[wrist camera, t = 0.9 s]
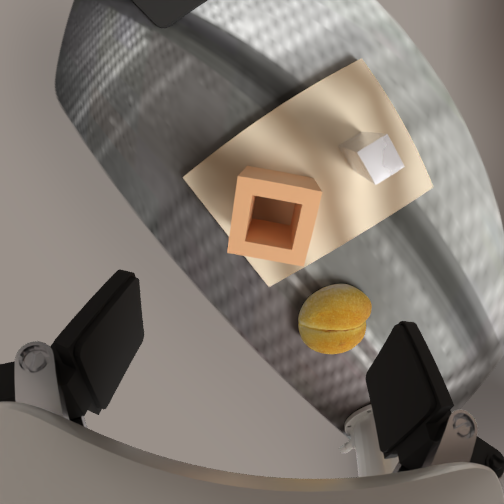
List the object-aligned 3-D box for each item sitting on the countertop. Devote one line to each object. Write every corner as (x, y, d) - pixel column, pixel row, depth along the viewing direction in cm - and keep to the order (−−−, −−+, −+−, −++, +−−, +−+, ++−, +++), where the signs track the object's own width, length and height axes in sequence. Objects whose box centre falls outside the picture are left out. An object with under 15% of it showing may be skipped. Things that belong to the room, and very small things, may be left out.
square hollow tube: (299, 239, 26) (303, 266, 21) (237, 227, 26) (227, 252, 22) (313, 178, 24) (322, 191, 19) (247, 165, 24) (237, 175, 19)
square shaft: (353, 170, 23) (375, 185, 17) (337, 145, 22) (356, 152, 16) (375, 156, 22) (404, 166, 16) (361, 131, 21) (387, 133, 16)
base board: (269, 282, 30) (268, 286, 29) (186, 175, 26) (182, 177, 25) (429, 184, 23) (433, 187, 22) (358, 60, 19) (361, 58, 18)
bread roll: (373, 280, 29) (383, 300, 25) (357, 340, 33) (363, 362, 29) (301, 278, 30) (303, 300, 26) (294, 340, 33) (295, 363, 30)
